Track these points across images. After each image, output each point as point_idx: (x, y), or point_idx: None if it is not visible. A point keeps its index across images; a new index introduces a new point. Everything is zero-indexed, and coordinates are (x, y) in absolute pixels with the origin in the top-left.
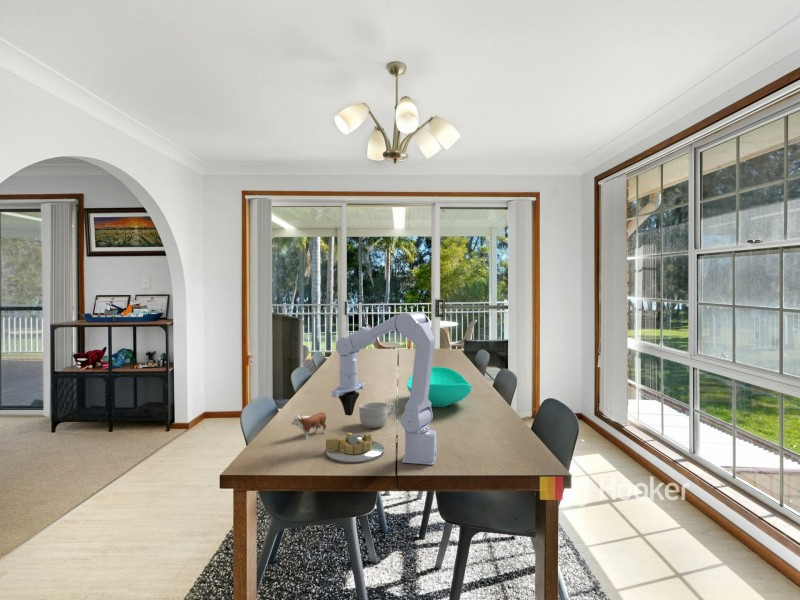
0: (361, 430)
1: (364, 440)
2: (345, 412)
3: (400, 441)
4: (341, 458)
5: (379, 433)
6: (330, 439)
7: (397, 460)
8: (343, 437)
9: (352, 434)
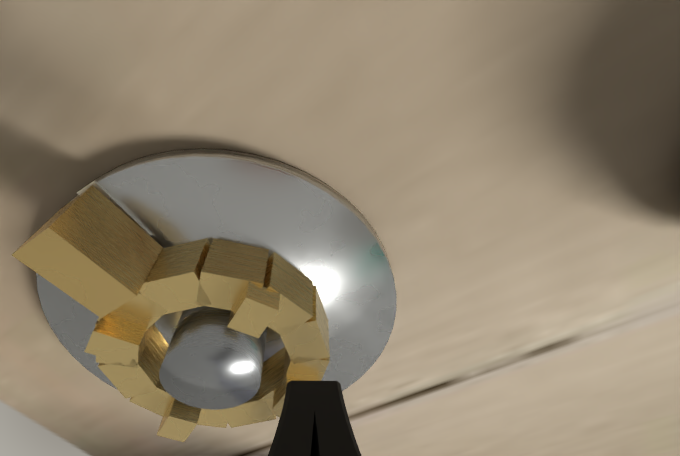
0: (642, 124)
1: (285, 365)
2: (282, 416)
3: (474, 385)
4: (64, 332)
5: (585, 260)
6: (51, 276)
7: (257, 452)
8: (208, 283)
9: (258, 333)
